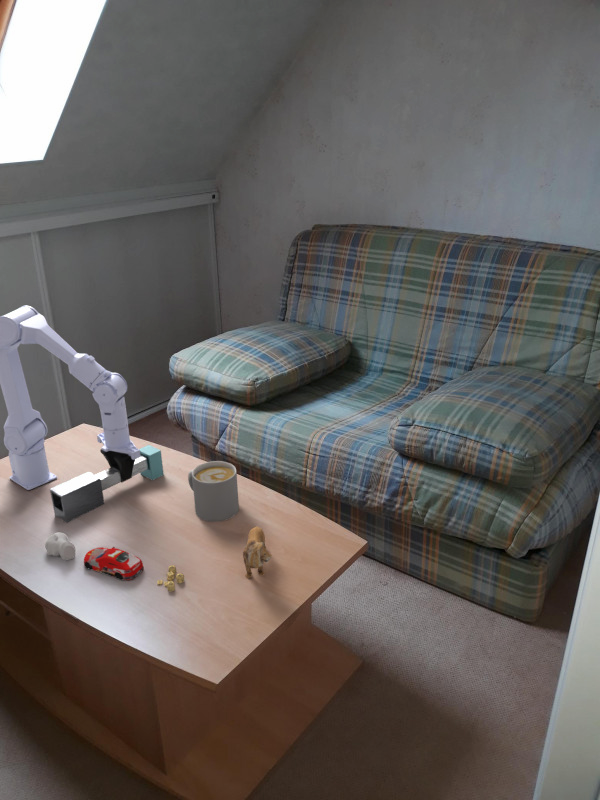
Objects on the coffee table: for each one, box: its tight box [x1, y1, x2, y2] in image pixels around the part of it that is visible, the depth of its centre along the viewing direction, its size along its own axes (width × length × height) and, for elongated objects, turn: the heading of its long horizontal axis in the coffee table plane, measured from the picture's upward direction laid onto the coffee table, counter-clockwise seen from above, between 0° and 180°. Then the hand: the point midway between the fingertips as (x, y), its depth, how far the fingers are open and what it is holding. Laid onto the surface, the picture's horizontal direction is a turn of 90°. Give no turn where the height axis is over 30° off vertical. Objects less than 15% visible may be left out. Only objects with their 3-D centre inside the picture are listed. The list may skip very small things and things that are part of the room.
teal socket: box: [138, 444, 164, 481], centre depth 165 cm, size 5×4×7 cm
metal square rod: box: [95, 456, 148, 492], centre depth 157 cm, size 3×20×3 cm, turn 140°
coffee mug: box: [187, 460, 240, 523], centre depth 151 cm, size 13×10×10 cm
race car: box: [83, 546, 144, 581], centre depth 132 cm, size 13×5×4 cm, turn 63°
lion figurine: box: [242, 526, 273, 579], centre depth 131 cm, size 15×5×9 cm, turn 9°
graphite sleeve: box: [49, 471, 105, 524], centre depth 151 cm, size 5×10×7 cm, turn 140°
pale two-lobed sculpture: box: [44, 531, 76, 561], centre depth 137 cm, size 4×8×5 cm
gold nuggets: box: [156, 564, 185, 593], centre depth 129 cm, size 5×5×2 cm
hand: (122, 475), depth 160 cm, fingers closed on metal square rod, 3 cm apart
